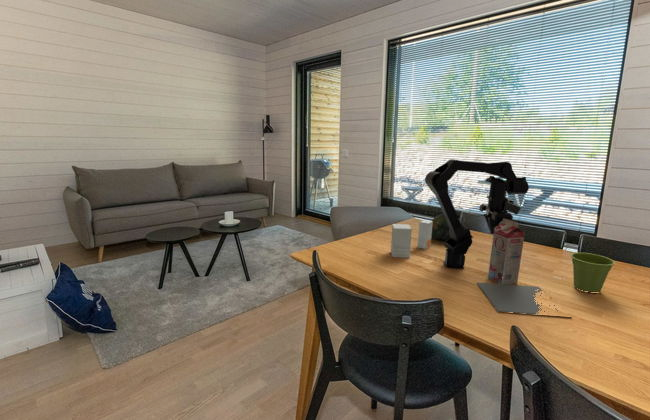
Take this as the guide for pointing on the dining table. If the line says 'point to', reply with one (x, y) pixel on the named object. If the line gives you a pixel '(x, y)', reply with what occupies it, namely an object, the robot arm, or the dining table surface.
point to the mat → (512, 297)
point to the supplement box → (401, 240)
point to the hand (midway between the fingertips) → (492, 233)
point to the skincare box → (424, 234)
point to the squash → (440, 228)
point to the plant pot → (590, 271)
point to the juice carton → (506, 252)
